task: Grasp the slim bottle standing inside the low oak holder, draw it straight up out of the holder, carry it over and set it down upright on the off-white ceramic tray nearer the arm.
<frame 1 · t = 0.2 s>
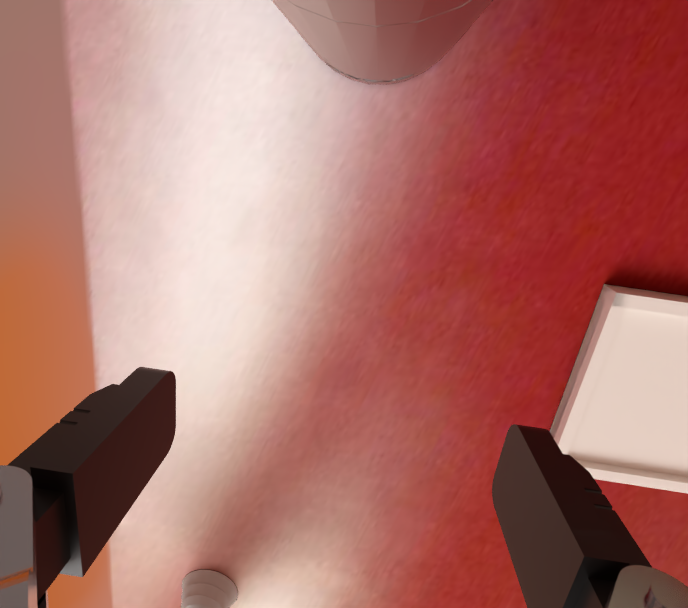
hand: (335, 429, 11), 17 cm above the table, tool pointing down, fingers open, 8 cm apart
chalice: (210, 588, 39), on the table
ceramic tray: (669, 392, 29), on the table
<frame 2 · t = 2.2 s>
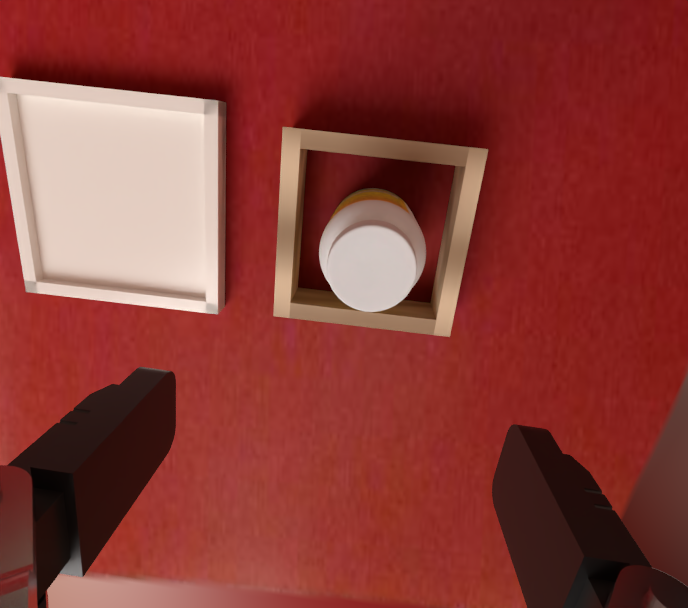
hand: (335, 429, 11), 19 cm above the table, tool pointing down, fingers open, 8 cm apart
supplement bottle: (372, 228, 29), resting in oak holder
ceramic tray: (126, 201, 29), on the table
oak holder: (372, 229, 28), on the table
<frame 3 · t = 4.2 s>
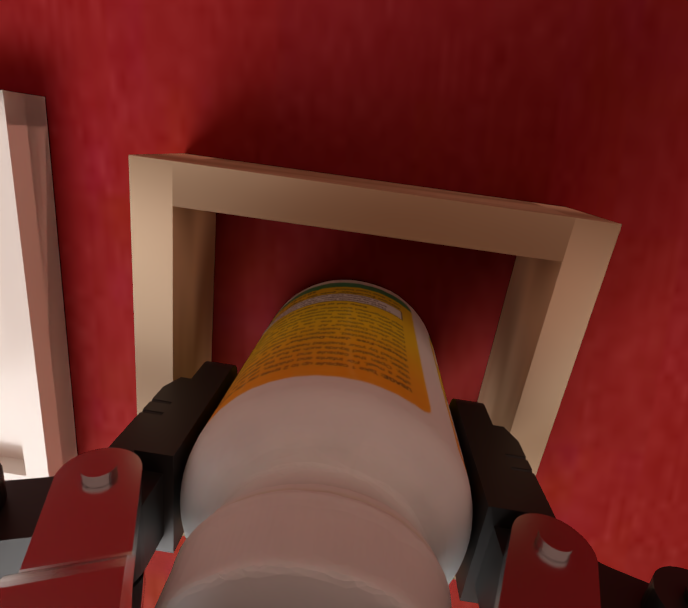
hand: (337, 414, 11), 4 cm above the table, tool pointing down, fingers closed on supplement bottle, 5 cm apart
supplement bottle: (348, 350, 15), resting in oak holder, touching gripper
oak holder: (347, 352, 14), on the table
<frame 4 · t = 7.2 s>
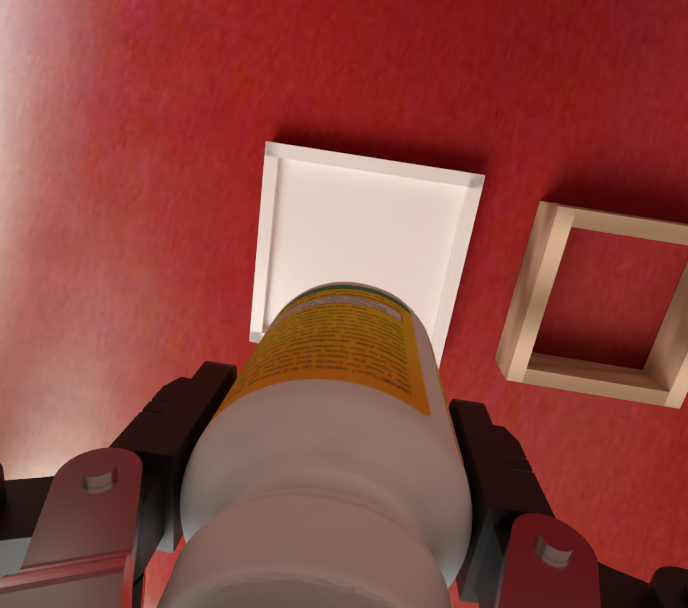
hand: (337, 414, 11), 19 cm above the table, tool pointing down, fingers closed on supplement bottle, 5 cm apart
supplement bottle: (348, 352, 15), point 15 cm above the table, touching gripper
ceramic tray: (358, 259, 29), on the table
oak holder: (599, 298, 29), on the table
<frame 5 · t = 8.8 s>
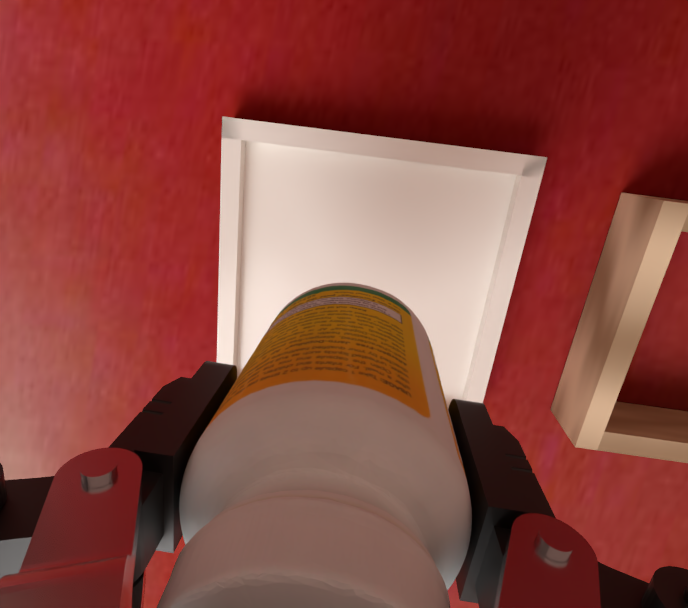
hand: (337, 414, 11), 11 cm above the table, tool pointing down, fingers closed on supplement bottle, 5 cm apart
supplement bottle: (347, 352, 15), point 7 cm above the table, touching gripper
ceramic tray: (362, 281, 21), on the table
when the fingers open (5 cm above the table, at t = 10.3 s): supplement bottle drops 1 cm, resting on ceramic tray.
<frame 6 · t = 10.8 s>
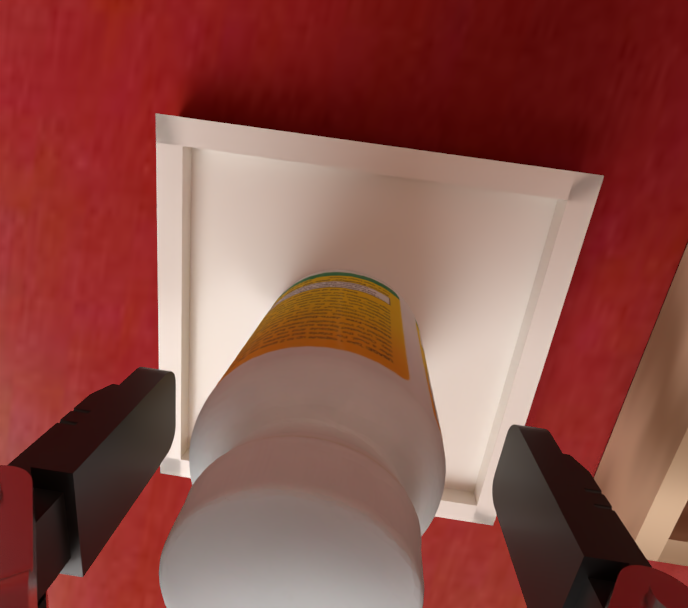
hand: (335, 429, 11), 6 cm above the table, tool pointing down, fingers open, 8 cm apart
supplement bottle: (342, 336, 16), point 1 cm above the table, touching ceramic tray
ceramic tray: (350, 330, 16), on the table
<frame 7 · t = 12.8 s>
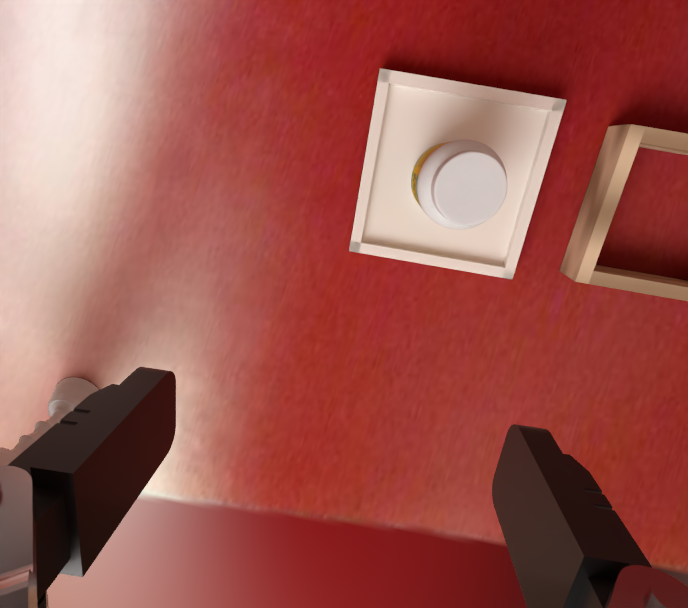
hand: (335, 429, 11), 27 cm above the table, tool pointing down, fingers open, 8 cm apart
supplement bottle: (445, 179, 33), point 1 cm above the table, touching ceramic tray
chalice: (80, 399, 43), on the table
ceramic tray: (447, 179, 34), on the table
oak holder: (653, 214, 34), on the table
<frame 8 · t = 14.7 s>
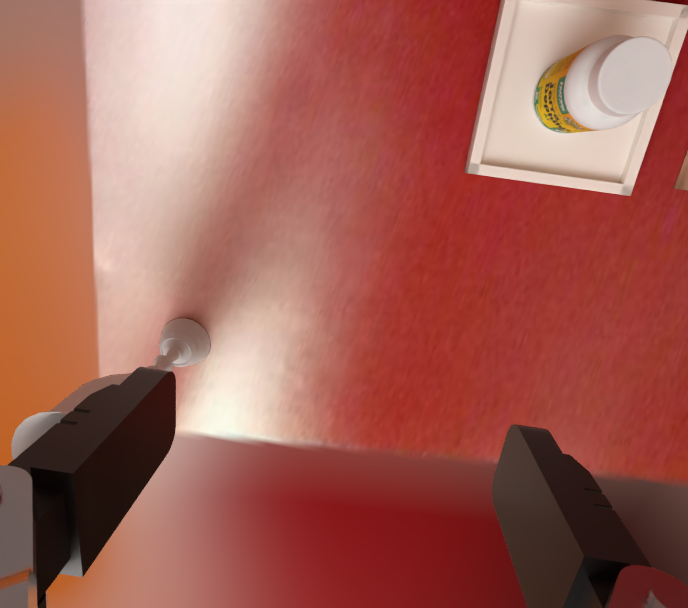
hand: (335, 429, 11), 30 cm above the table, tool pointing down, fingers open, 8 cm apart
supplement bottle: (565, 96, 34), point 1 cm above the table, touching ceramic tray
chalice: (186, 341, 44), on the table
ceramic tray: (565, 97, 35), on the table
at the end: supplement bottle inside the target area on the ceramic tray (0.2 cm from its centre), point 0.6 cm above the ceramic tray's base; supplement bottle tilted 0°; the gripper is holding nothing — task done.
